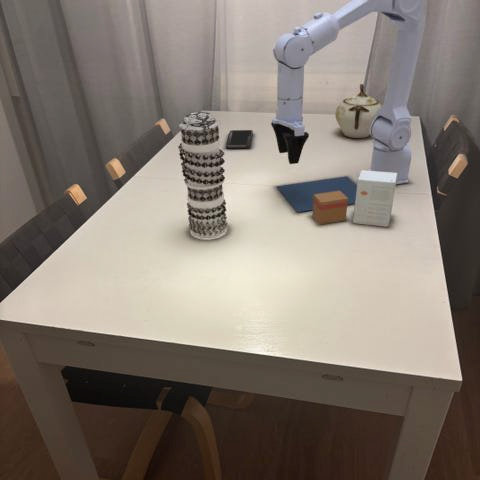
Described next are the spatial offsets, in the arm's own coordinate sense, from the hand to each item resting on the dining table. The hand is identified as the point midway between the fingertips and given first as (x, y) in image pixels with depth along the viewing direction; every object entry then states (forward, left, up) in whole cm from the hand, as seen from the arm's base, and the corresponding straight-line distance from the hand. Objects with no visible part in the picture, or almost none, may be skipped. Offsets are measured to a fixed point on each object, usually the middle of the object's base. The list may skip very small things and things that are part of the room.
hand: (288, 157), depth 114 cm
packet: (-5, +14, -10) cm, 18 cm away
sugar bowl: (-37, -39, -10) cm, 55 cm away
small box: (-14, +18, -10) cm, 25 cm away
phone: (+1, -46, -10) cm, 47 cm away
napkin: (-9, +1, -10) cm, 14 cm away
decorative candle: (+23, +11, -10) cm, 27 cm away
